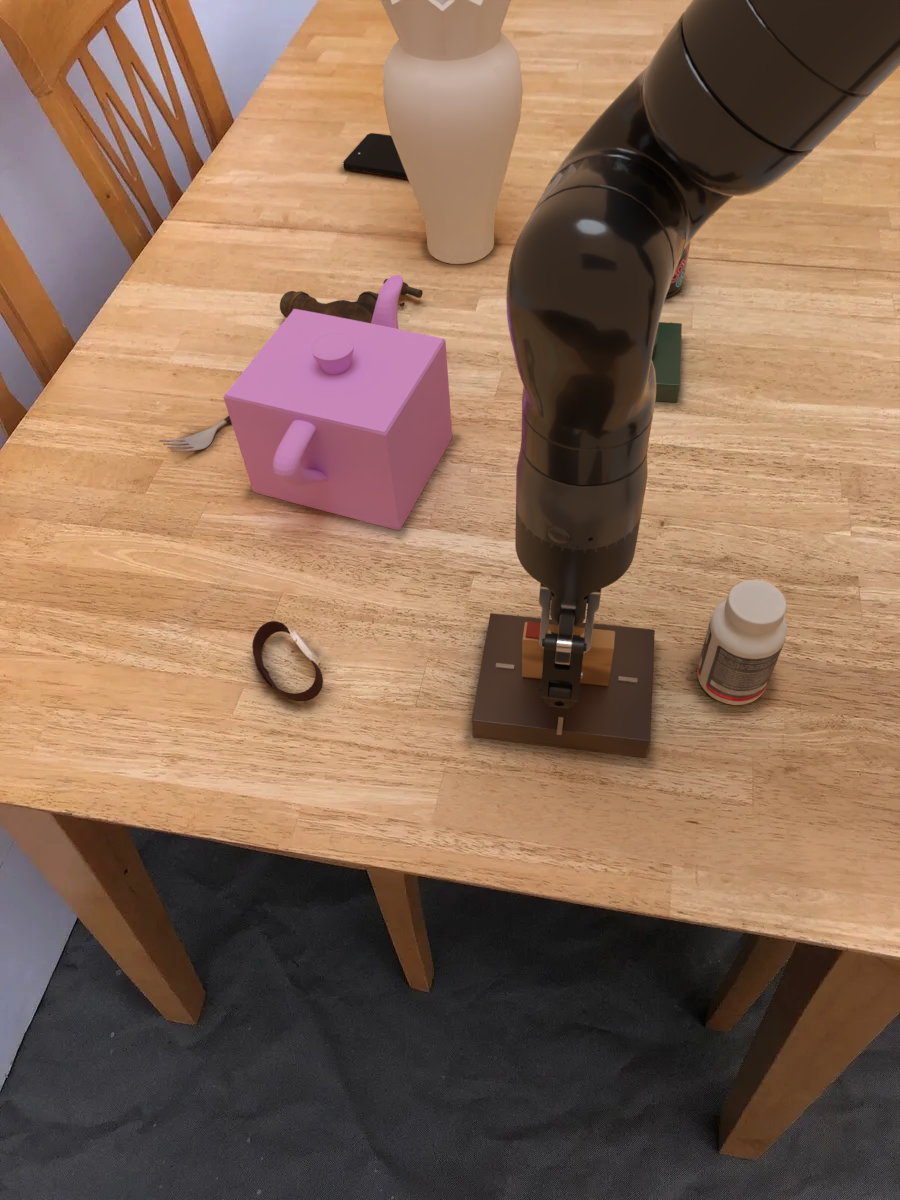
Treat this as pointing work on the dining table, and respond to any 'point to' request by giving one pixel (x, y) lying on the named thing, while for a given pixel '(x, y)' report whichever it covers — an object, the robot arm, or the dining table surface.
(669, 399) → the switch box
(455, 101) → the vase
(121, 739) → the dining table surface
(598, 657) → the handle
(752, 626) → the pill bottle
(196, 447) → the fork
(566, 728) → the panel
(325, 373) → the teapot
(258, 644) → the watch
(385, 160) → the cell phone
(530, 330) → the robot arm
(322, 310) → the faucet
